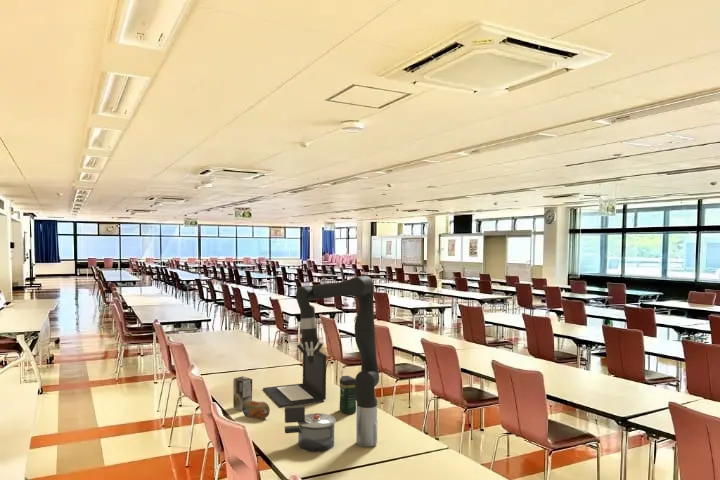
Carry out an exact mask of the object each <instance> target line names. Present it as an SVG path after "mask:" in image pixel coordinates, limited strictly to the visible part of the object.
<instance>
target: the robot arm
mask: <svg viewBox="0 0 720 480" xmlns="http://www.w3.org/2000/svg"><path fill="white" fill-rule="evenodd" d="M374 287H375V285H374V282H373V279H372V278H371V277H370V276H368V275H360V276H359V275H358V276H354V277H352V278H349V279H347V280H344V281H340V282H326V283H319V284H312V285H305V286H304V285H303V286H300V287H298V288H297V289H296V292H295V298H296V302H297V305H298V307H299V311H300V330H301V331H300V332H301V341H300V343H299V344H298V345H297V346H296V347H297V348H298V350H300V351H301V353H302V355H303V354H304V355H307V356H308V362H309V363H310V364H313V363H314V362H315V357H314V355H315V354H317V353H318V352H319V351H320V350H321V349H322V347H323V345H324V342H321V341H319V337H318V328H317V319H316V310H315V306H314V305H313V304H310V301H313V300H321V299H323V300H324V299H331V298H336V297H340V296H341V297H342V296H343V297H344V296H347V297H356V298H358V304H359V306H358V310H357V314H356V318H355V322H354V339H355V344H356V346H357V350H358V352H359V355H360V360H361V361H360V363H361V367H360V368H361V370H360V371H359V372H358V373H357V374H356V376H355V378H354V379H355V398H356V423H355V424H356V428H355V429H356V431H355V432H356V433H355V434H356V436H355V437H356V438H355V439H356V442H355V444H356V445H357V446H360V447H364V448H365V447H366V448H367V447H368V448H369V447H370V448H371V447H376V446H377V443H378V399H377V398H376V394H375V393H376V391H375V390H376V389H375V387H377V385H378V384H379V382H380V373H379V368H378V362H377V361H378V360H377V347H376V346H377V345H376V343H377V342H376V328H375V326H376V325H375V313H374V312H375V311H374V295H375V292H374V291H375V290H374V289H375V288H374ZM303 345H304V347H305V348H306V350H305V349H304V348H303ZM316 347H317V348H316ZM315 349H316V351H315V352H314V350H315Z"/></svg>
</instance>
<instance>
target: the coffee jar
mask: <svg viewBox="0 0 720 480" xmlns="http://www.w3.org/2000/svg"><path fill="white" fill-rule="evenodd" d="M339 388H340V389H339V411H340V412H341V413H343V414H348V415H349V414H354V413H357V401H356V398H355V378H354V377H352V376H350V375H341V377H340V378H339Z"/></svg>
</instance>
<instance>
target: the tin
mask: <svg viewBox="0 0 720 480" xmlns="http://www.w3.org/2000/svg"><path fill="white" fill-rule="evenodd" d="M270 409H271V408H270V406H269V404H268V403H267V402H265V401H258V400H257V401H256V400H252V401H247V402H245V403H244V405H243V408H242V410H243V411H242V413H243V415H244V416H245V417H246V418H248V419H257V420H264V419H266V418H268V417H269V415H270V413H271V410H270Z"/></svg>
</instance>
